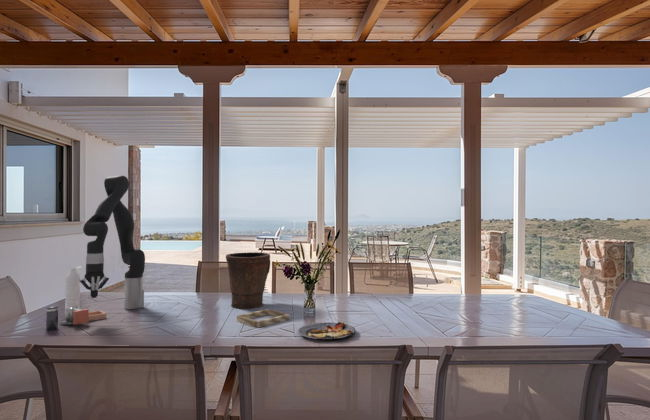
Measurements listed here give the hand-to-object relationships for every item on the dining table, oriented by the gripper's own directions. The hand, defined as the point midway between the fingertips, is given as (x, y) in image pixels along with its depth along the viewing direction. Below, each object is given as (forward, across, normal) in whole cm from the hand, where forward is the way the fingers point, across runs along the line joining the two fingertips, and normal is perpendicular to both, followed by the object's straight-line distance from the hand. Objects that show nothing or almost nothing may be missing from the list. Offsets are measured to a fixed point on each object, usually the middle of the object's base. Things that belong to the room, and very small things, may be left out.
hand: (93, 297), depth 191 cm
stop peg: (+12, +17, 0) cm, 21 cm away
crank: (+11, +7, -2) cm, 13 cm away
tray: (+12, -2, -8) cm, 14 cm away
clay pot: (+11, -76, +24) cm, 80 cm away
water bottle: (+12, +3, -22) cm, 25 cm away
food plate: (+12, -65, +96) cm, 117 cm away
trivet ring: (+11, -60, +57) cm, 84 cm away
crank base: (+12, +8, -6) cm, 15 cm away
